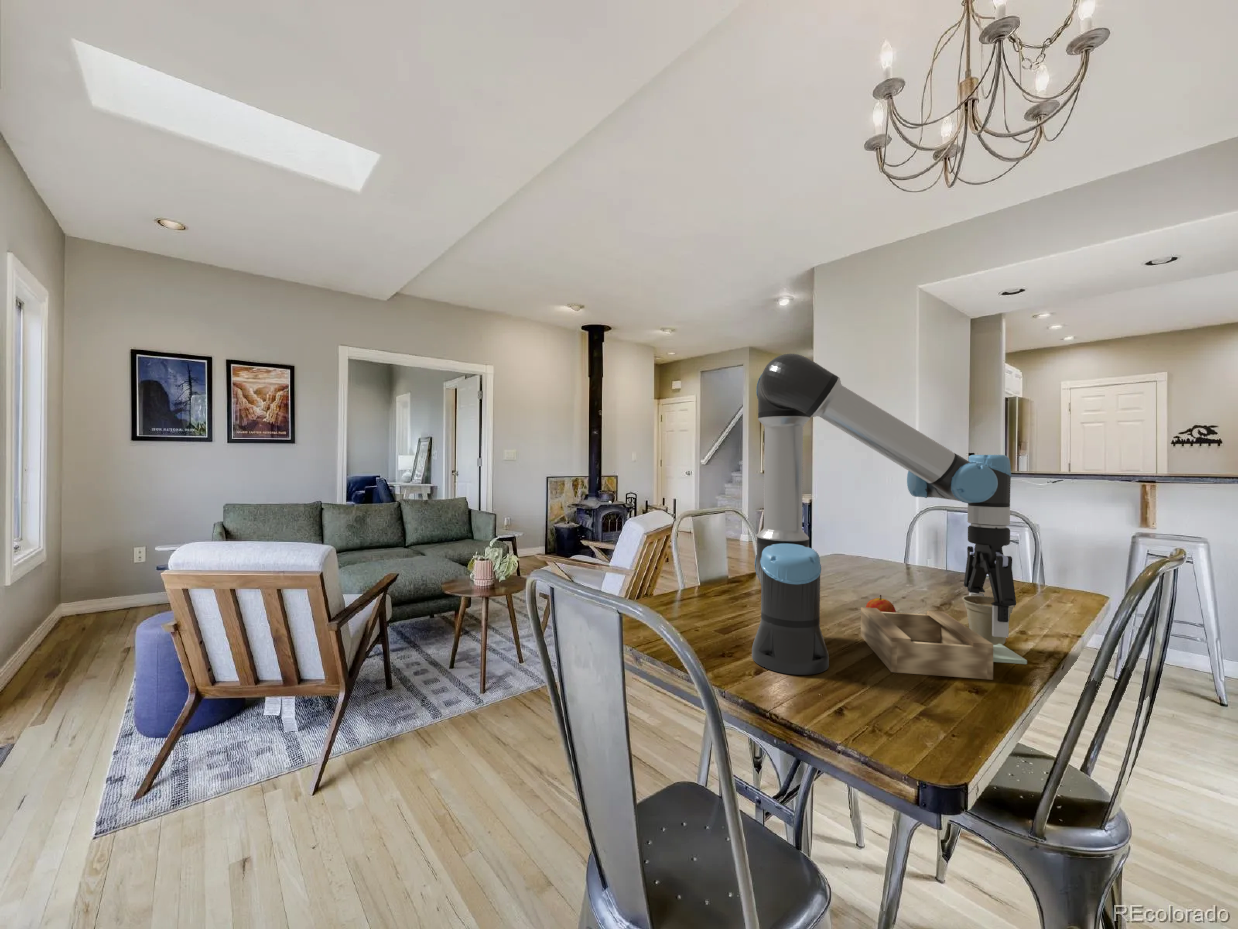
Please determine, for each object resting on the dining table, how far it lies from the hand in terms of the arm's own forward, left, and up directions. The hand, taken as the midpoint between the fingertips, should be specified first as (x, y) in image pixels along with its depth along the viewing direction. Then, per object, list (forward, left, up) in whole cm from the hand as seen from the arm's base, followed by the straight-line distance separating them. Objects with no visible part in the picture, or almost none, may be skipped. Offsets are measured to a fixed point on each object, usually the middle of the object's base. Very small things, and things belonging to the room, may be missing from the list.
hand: (987, 628), depth 113 cm
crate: (-15, -4, -5) cm, 16 cm away
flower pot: (0, 0, -3) cm, 3 cm away
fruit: (-17, +16, -6) cm, 24 cm away
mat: (0, 0, -5) cm, 5 cm away
